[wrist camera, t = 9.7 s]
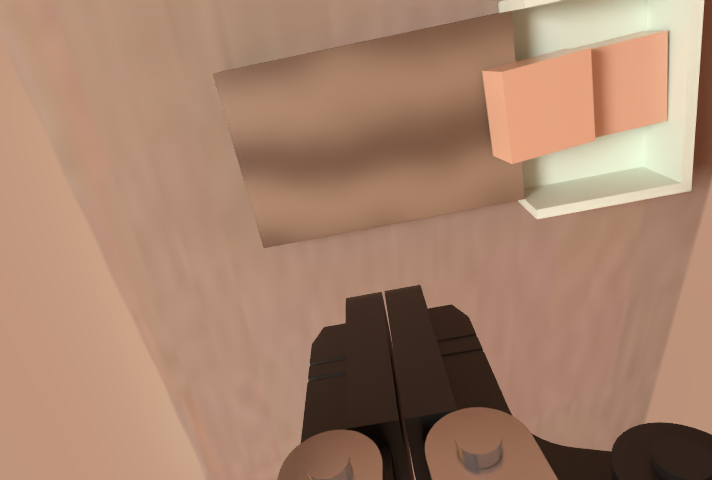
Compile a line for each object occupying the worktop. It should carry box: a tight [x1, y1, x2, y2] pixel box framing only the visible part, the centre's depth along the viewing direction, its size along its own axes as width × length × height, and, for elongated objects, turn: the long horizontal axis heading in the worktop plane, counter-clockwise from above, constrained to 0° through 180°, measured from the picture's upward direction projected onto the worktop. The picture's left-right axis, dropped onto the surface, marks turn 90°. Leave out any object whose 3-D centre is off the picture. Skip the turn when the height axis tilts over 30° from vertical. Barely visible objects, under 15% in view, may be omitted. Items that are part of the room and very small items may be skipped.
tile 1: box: [482, 48, 595, 164], centre depth 28 cm, size 5×5×2 cm
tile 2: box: [576, 30, 668, 138], centre depth 29 cm, size 5×5×2 cm
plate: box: [213, 11, 525, 248], centre depth 30 cm, size 11×17×2 cm, turn 101°
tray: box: [498, 0, 704, 219], centre depth 29 cm, size 12×9×5 cm
